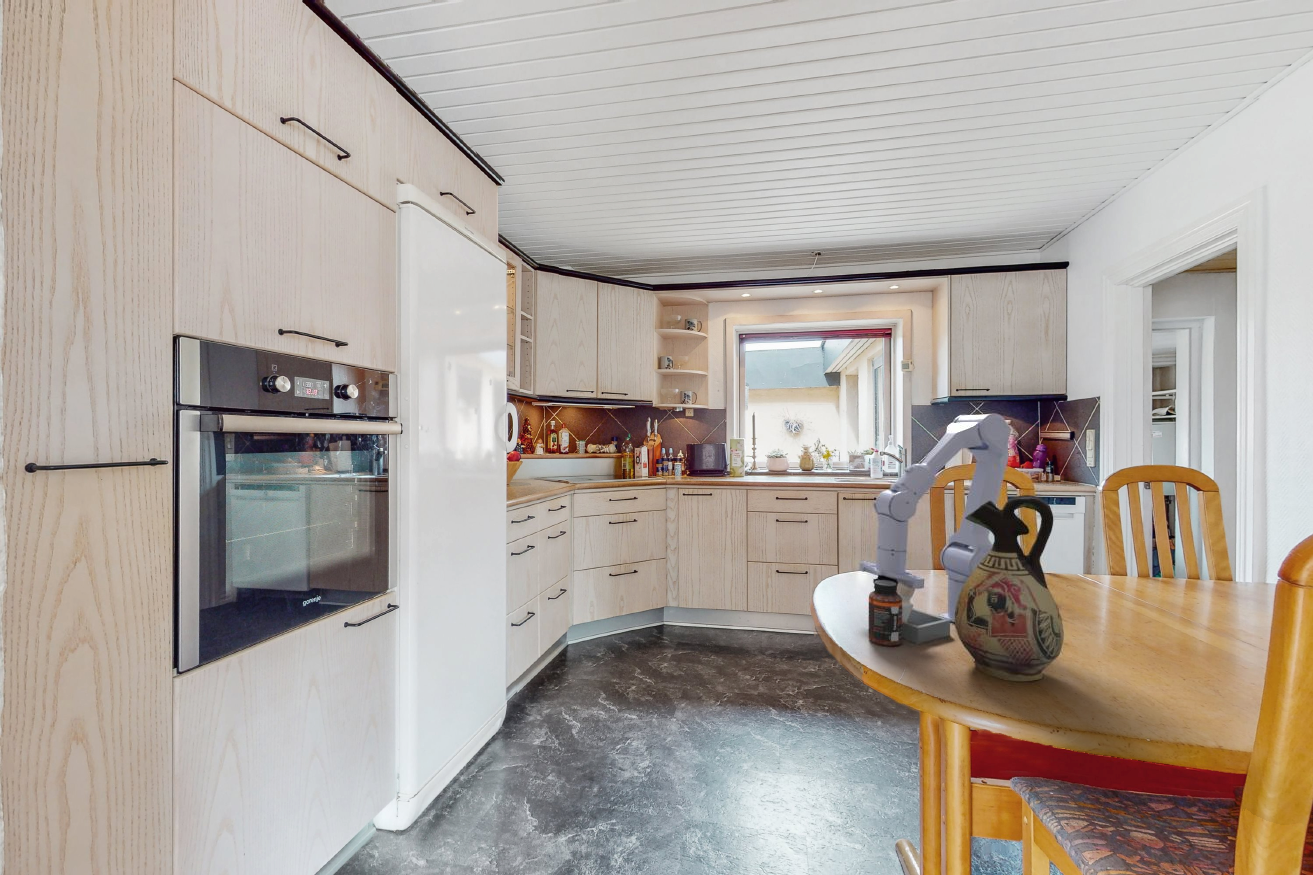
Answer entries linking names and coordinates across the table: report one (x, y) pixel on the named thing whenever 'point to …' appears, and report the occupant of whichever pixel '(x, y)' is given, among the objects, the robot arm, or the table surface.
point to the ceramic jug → (1010, 598)
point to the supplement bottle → (885, 614)
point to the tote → (924, 627)
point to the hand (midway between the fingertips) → (887, 613)
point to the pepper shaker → (905, 599)
